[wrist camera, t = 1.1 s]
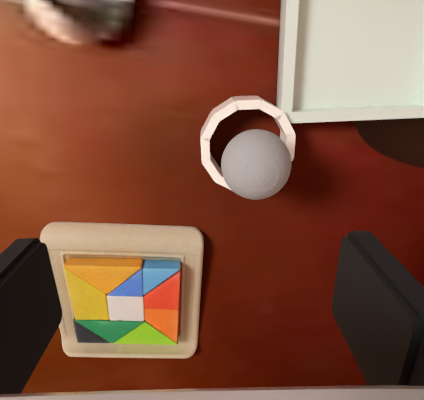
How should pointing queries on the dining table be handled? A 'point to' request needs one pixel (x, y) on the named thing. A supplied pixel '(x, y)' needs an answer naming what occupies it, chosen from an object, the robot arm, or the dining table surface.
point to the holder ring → (227, 109)
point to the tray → (351, 60)
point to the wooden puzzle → (127, 288)
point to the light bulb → (256, 164)
